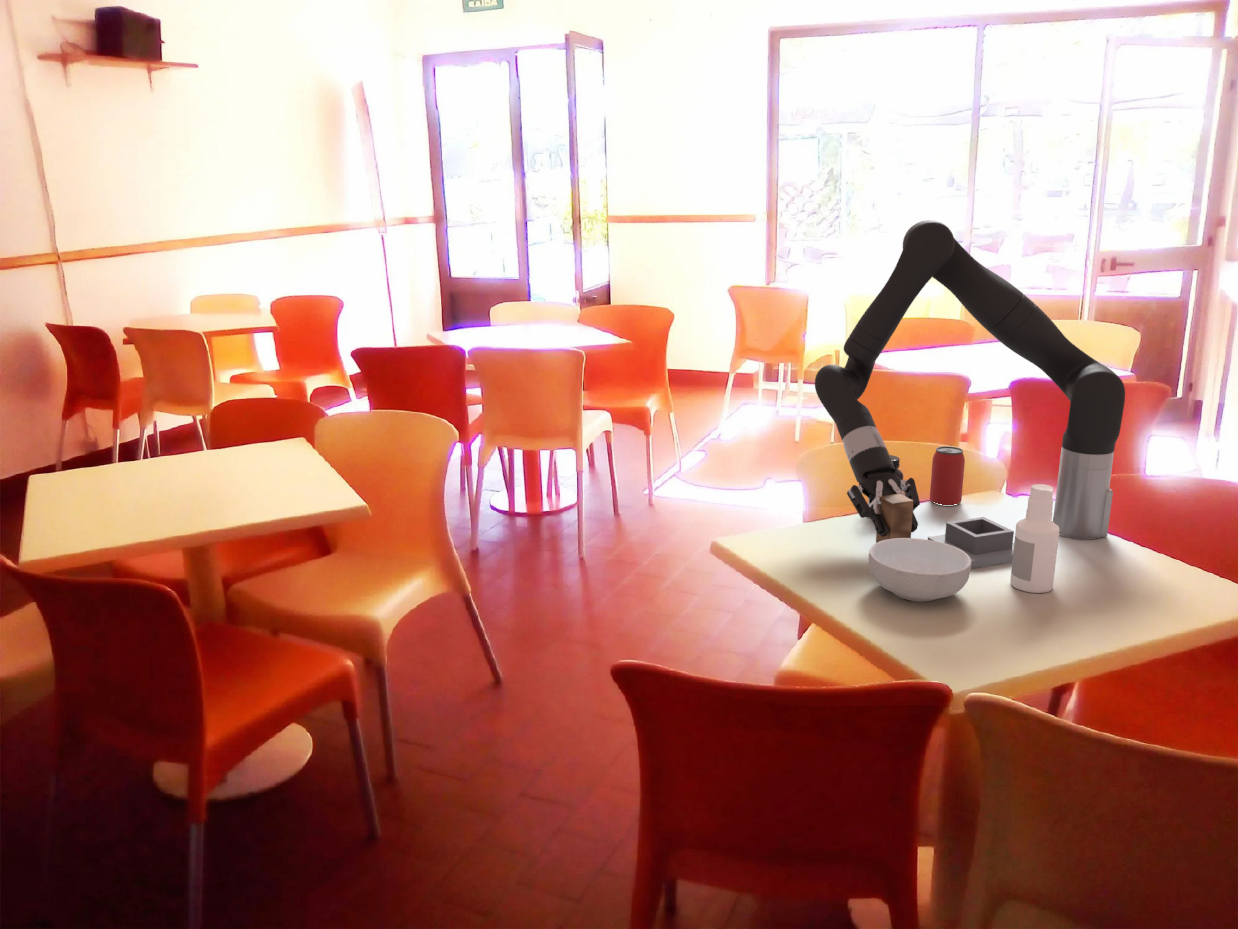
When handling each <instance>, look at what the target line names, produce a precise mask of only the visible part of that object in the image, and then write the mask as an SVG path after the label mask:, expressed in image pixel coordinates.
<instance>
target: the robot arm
mask: <svg viewBox="0 0 1238 929" xmlns="http://www.w3.org/2000/svg"><path fill="white" fill-rule="evenodd" d="M931 279H934V280H936V281H937V282H938V283H940V284H941V285H942V286H944V287H945V288H946V289H947V290H949V292H951V294H953V296H954V297H955V298H956V299H957V300H958V302H960V303H961V304H962V306H963V307H964V308H965V310H966V311H967V312H968V313H969V314H970V316H972V317H973V318H974V319H975V320H976V321H977V323H979V324H980V325H981V326H982V327H983V329H985V330H986V331H987V332H988V333H989V334H990V335H992V336H993V337H994V338H995V339H996V340H998V342H1000V343H1001V344H1003V345H1004V346H1005V347H1006V348H1008V349H1009V350H1010V351H1012V352H1014V353H1015V354H1017V355H1018V356H1019V357H1021V358H1023V359H1025V360H1027V361H1028V362H1030V363H1032V364H1033V365H1034V366H1036V367H1037V368H1039V369H1040V370H1041V371H1042V372H1043V373H1044V374H1046V375H1047V377H1048V378H1049V379H1051V381H1052V382H1054V384H1055V385H1056V386H1057V387H1058V388H1059V389H1060V390H1061V391H1062V393H1063V394H1064V395H1065V397H1066V398H1067V399H1068V400H1069V402H1070V405H1069V412H1068V418H1067V426H1066V430H1065V431H1064V432H1063V435H1062V442H1061V449H1060V457H1059V467H1058V474H1057V482H1056V491H1055V492H1056V493H1055V500H1054V508H1053V509H1054V510H1053V516H1052V522H1054V523H1055V524H1056V525H1058V526H1059V530H1060V531H1059V536H1063V537H1066V538H1070V539H1076V540H1096V539H1100V538H1108V532H1109V525H1110V518H1111V512H1112V511H1111V510H1112V509H1111V508H1112V504H1113V495H1114V492H1113V491H1114V490H1112V488H1110V485H1111V477H1112V470H1113V463H1114V455H1115V448H1116V443H1117V441H1118V438H1119V436H1120V432H1121V427H1122V421H1123V415H1124V414H1123V413H1124V409H1125V401H1126V387H1125V385H1124V382H1123V380H1122V379H1121V377H1120V376H1118V375H1117V374H1116V373H1115V371H1113V370H1111V369H1110V368H1109V367H1108V366H1106V365H1104V364H1102V363H1101V362H1099V361H1097V360H1096V359H1094V358H1093V357H1092V356H1090V355H1089V354H1087V353H1086V352H1085V351H1083V350H1082V349H1080V348H1079V347H1077V346H1076V345H1075V344H1073V342H1072V341H1070V340H1069V339H1068V338H1067V337H1066V336H1065V335H1064V334H1063V332H1062V331H1061V330H1060V329H1059V328H1058V327H1057V325H1056V324H1055V322H1054V321H1053V320H1052V319H1051V318H1050V317H1049V316H1048V315H1047V314H1046V313H1045V312H1044V311H1043V310H1042V309H1041V308H1040V307H1039V306H1038V305H1037V304H1036V303H1035V302H1034V301H1032V300H1031V299H1030V298H1029V297H1028V296H1027V295H1026V294H1024V293H1023V292H1022V291H1021V290H1020V289H1018V288H1017V287H1016V286H1014V285H1013V284H1012V283H1010V282H1009V281H1007V280H1006V279H1005V278H1003V277H1002V276H1000V275H998V274H996V273H995V272H994V271H992V270H991V269H989V268H987V267H985V266H984V265H983V264H981V263H980V262H979V261H977V260H976V258H974V257H973V256H972V255H971V254H970V253H969V252H968V251H967V250H966V249H965V248H964V247H963V246H962V245H961V244H960V243H959V242H958V241H957V240H956V238H955V237H954V234H953V232H952V230H951V229H950V228H949V226H947V225H946V224H944V223H943V222H940V221H937V220H933V219H931V220H930V219H928V220H921V221H919V222H917V223H915V224H913V225H911V226H910V227H909V229H908V230H907V231H906V232H905V235H904V237H903V239H902V251H901V254H900V256H899V257H898V260H897V262H896V265H895V266H894V269H893V271H892V273H891V274H890V276H889V277H888V280H887V282H886V283H885V284H884V286H883V287H882V289H881V290H880V291H879V293H878V294H877V296H876V297H875V298H874V300H873V301H872V302H871V303H870V305H869V306H868V308H866V309H865V311H864V312H863V314H862V316H860V318H859V320H858V321H857V323H856V324H855V327H854V328H853V329H852V331H851V332H850V334H849V336H848V337H847V339H846V341H845V343H844V346H843V351H844V353H845V355H847V356H848V358H847V361H846V364H845V365H844V367H842V366H840V365H836V364H827V365H824V366H821V368H820V369H819V370H818V371H817V373H816V375H815V379H814V388H815V392H816V395H817V398H818V400H819V401H820V403H821V404H822V406H823V407H824V408H825V411H826V412H827V413H828V415H829V416H830V417H831V419H832V420H833V422H834V424H835V426H836V429H837V431H838V434H839V436H840V439H841V442H842V444H843V448H844V452H845V454H846V457H847V460H848V462H849V464H850V467H851V470H852V472H853V476H854V477H855V478H854V479H855V480H856V482H857V483H858V485H856V484H853V485H852V486H851V487H850V488H849V489H848V490H847V492H846V494H847V497H848V498H849V500H850V502H851V503H852V505H853V506H854V509H855V510H856V512H857V514H858V516H859V517H860V518H862V519H864V518H869V519H870V520H871V522H872V525H873V526H874V530H875V531H876V532H875V533H878V534H880V536H881V537H884V536H886V535H887V534H888V533H889V530H888V527H887V525H886V522H885V520H884V517H883V515H882V514H881V515H880V512H881V499H880V497H881V496H884V495H892V494H901V495H903V496H905V497H907V498H909V499H911V500H913V515H912V529H911V533H914V532H916V530H918V526H919V522H918V520H917V518H916V516H915V513H914V511H915V510H916V509H917V508H918V507H919V506H920V505H921V503H920V502H921V501H920V498H919V493H918V490H917V486H916V482H915V479H914V478H913V477H909V478H908V479H903V480H900V479H899V477H897V475H896V474H895V468H894V465H893V462H892V460H891V458H890V455H891V454H890V452H889V451H888V448H887V446H886V443H885V441H884V439H883V437H882V435H881V433H880V431H879V430H878V427H877V425H876V423H875V421H874V418H873V416H872V414H871V412H870V410H869V408H868V407H867V406H866V405H865V404H863V403H862V402H860V401H859V399H860V398H861V397H862V396H863V394H864V392H865V391H866V389H867V386H868V384H869V381H870V378H871V376H872V373H873V371H874V368H875V364H876V361H877V359H878V358H879V356H880V355H881V353H882V352H883V350H884V349H885V347H886V346H887V344H888V342H889V341H890V340H891V337H892V336H893V334H894V333H895V331H896V329H897V328H898V326H899V325H900V322H901V321H902V319H903V318H904V316H905V315H906V313H907V311H908V310H909V308H910V307H911V305H912V304H913V302H914V301H915V299H916V298H917V297H918V295H919V294H920V292H921V291H922V290H923V289H924V287H925V286H926V284H927V283H929V281H930V280H931ZM900 487H901V488H902V491H901V490H900V489H899V488H900ZM864 496H866V497H867V498H868V501H867V500H866V498H865V497H864Z"/></svg>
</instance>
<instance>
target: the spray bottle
mask: <svg viewBox="0 0 1238 929" xmlns="http://www.w3.org/2000/svg"><path fill="white" fill-rule="evenodd" d="M1053 494H1054V487H1053V486H1051V485H1049V484H1044V483H1042V484H1041V483H1036V484H1032V485H1031V486H1030V495H1029V497H1028V499H1027V500H1028V501H1027V508H1026V512H1025V518H1023V519H1020V520H1018V521H1017V522H1016V524H1015V531H1014V532H1015V533H1014V540H1013V543H1014V550H1013V560H1012V562H1011V571H1010V581H1009V582H1010V584H1011V586H1012V587H1013V588H1015V589H1017V590H1019V591H1022V592H1026V593H1031V594H1032V593H1033V594H1043V593H1048V592H1050V591H1051V590H1052V589H1053V588H1054V580H1055V571H1056V564H1057V554H1058V548H1059V539H1060V534H1059V531H1060V530H1059V526H1058V525H1056V524H1055V523H1054V522H1053V509H1054V508H1053V507H1054V506H1053V505H1054V499H1053Z"/></svg>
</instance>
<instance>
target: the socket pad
mask: <svg viewBox="0 0 1238 929" xmlns="http://www.w3.org/2000/svg"><path fill="white" fill-rule="evenodd" d="M1014 532H1015V531H1014V530H1012V529H1010V528H1008V527H1005V525H1004V526H1003V525H1002V524H1000V523H998V522H995V521H993V520H991V519H989V518H987V517H985V516H982V517H981V516H980V517H973V518H967V519H966V518H965V519H961V520H954V521H953V520H952V521H947V522H946V523H945V534H940V535H933V536H927V540H932V541H937V542H941V543H945V544H948V545H951V546H954V547H956V548H959V549H960V550H962V551H964V552H965V553H966V554H967V555H968V556H969V557H970V559H971V570H972V569H977V568H983V567H989V566H995V565H996V566H997V565H1001V564H1009V563H1012V560H1013V550H1014V536H1015V533H1014Z"/></svg>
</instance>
